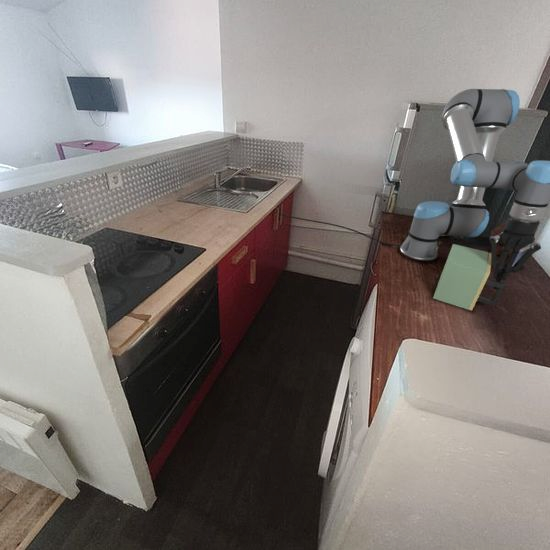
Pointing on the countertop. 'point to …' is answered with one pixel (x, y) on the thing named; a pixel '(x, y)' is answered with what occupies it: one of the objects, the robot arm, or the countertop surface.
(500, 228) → the ice cream bowl
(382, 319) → the countertop surface
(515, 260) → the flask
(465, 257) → the cupboard
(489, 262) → the door
